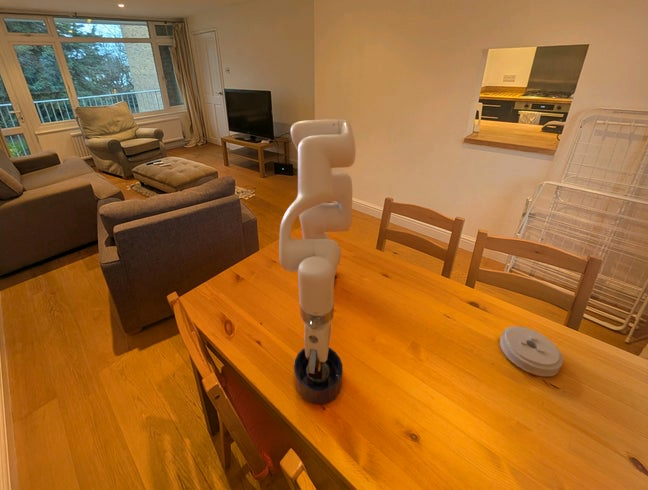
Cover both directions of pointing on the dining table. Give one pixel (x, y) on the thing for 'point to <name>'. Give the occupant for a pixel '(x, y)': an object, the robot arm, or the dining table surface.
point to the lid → (531, 351)
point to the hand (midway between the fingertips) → (318, 361)
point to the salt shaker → (317, 382)
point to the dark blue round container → (334, 379)
